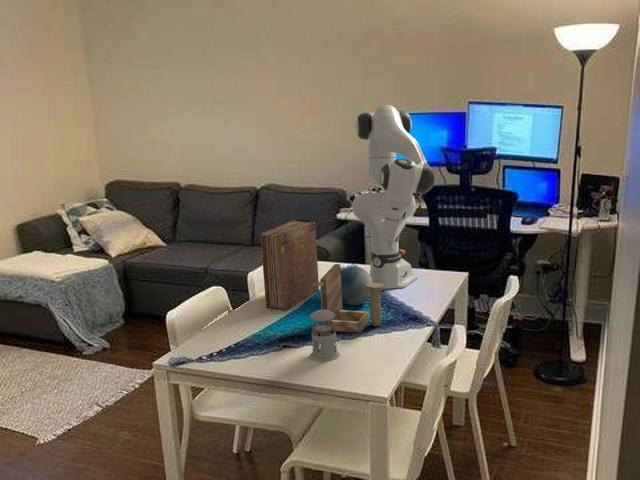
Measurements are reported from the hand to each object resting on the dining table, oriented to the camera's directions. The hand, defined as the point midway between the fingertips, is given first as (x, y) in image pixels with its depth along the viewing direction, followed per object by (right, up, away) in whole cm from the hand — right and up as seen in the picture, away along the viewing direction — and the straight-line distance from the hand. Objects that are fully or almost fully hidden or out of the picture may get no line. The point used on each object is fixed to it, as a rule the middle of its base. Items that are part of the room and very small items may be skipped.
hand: (392, 245), depth 226 cm
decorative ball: (-12, -23, +30) cm, 39 cm away
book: (-36, -22, +39) cm, 57 cm away
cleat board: (-15, -29, +9) cm, 33 cm away
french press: (-24, -35, -13) cm, 45 cm away
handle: (-5, -29, +8) cm, 30 cm away
